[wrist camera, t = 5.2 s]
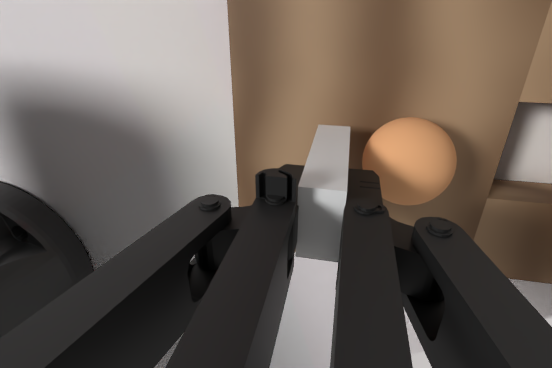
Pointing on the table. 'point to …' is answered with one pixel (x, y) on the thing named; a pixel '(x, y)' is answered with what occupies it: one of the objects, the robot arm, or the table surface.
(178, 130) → the table surface
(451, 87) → the wooden board
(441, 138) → the ball
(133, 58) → the table surface
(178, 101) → the table surface
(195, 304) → the robot arm
